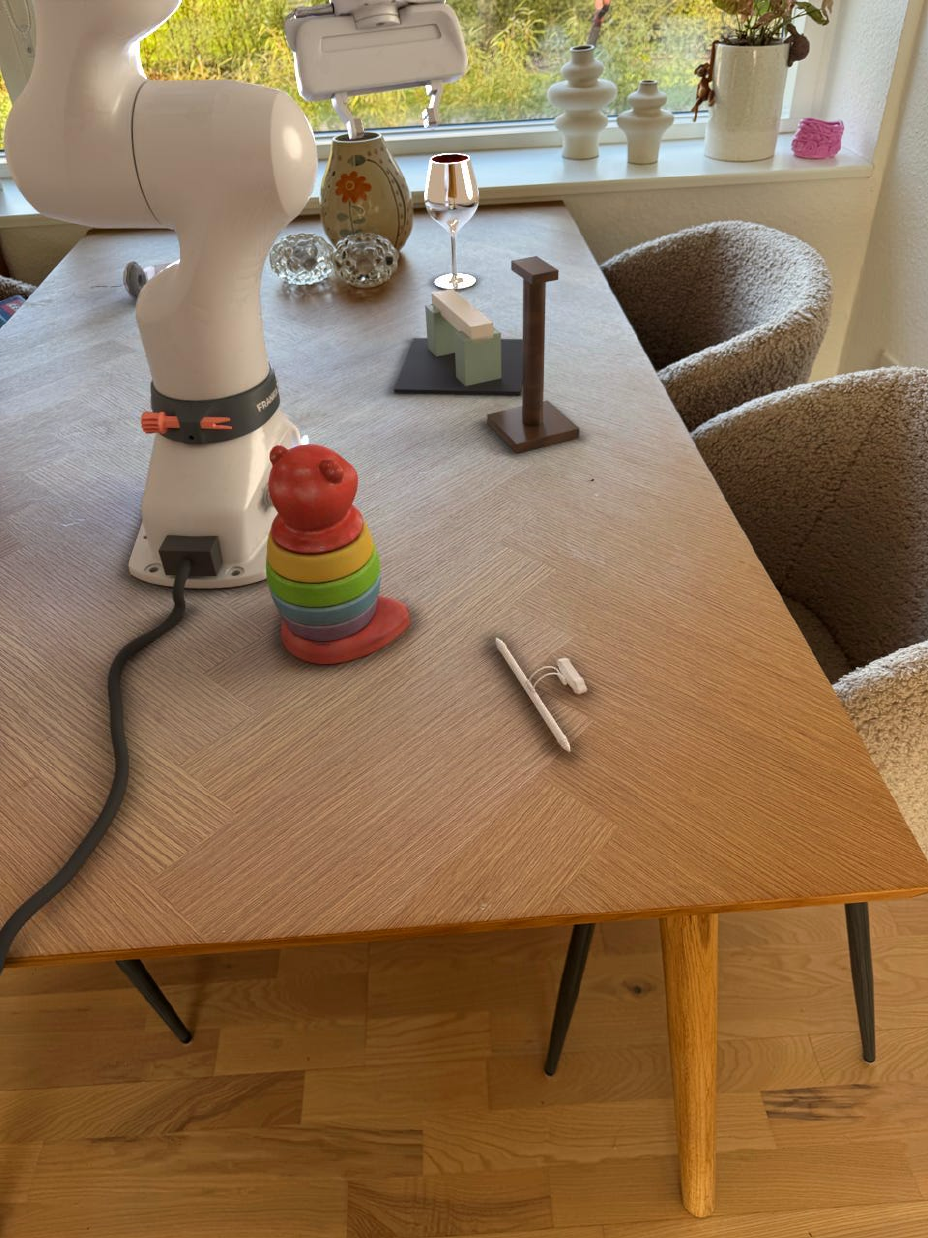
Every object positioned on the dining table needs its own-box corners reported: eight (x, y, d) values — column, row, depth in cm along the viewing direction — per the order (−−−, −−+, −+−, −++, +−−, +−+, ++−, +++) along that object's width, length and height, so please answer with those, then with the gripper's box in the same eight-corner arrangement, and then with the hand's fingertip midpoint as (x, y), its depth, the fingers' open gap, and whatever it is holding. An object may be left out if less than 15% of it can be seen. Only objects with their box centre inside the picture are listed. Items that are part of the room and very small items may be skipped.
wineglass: (421, 279, 147) (413, 156, 136) (467, 269, 150) (463, 148, 138) (442, 295, 142) (435, 168, 130) (489, 285, 144) (487, 160, 133)
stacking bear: (420, 618, 82) (404, 438, 70) (347, 685, 75) (316, 499, 64) (327, 579, 87) (299, 405, 75) (251, 639, 80) (207, 459, 69)
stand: (516, 453, 104) (516, 283, 91) (487, 423, 109) (483, 260, 97) (579, 437, 106) (587, 270, 94) (547, 408, 112) (550, 247, 99)
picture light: (492, 642, 79) (491, 624, 77) (538, 629, 80) (539, 610, 79) (565, 756, 69) (565, 736, 67) (616, 739, 70) (618, 719, 68)
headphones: (202, 309, 137) (243, 283, 155) (195, 269, 135) (238, 247, 152) (90, 309, 139) (143, 283, 156) (82, 269, 136) (137, 247, 153)
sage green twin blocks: (465, 386, 116) (463, 328, 111) (427, 348, 125) (424, 293, 121) (501, 378, 117) (500, 320, 113) (461, 341, 127) (459, 287, 122)
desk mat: (520, 395, 115) (520, 391, 114) (393, 392, 116) (393, 389, 116) (528, 342, 127) (528, 339, 126) (413, 341, 129) (413, 337, 128)
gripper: (283, -3, 100) (314, 137, 104) (459, -22, 105) (482, 112, 109) (276, 19, 105) (305, 150, 110) (443, 0, 111) (465, 126, 115)
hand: (395, 131), depth 109 cm, fingers open, 8 cm apart
